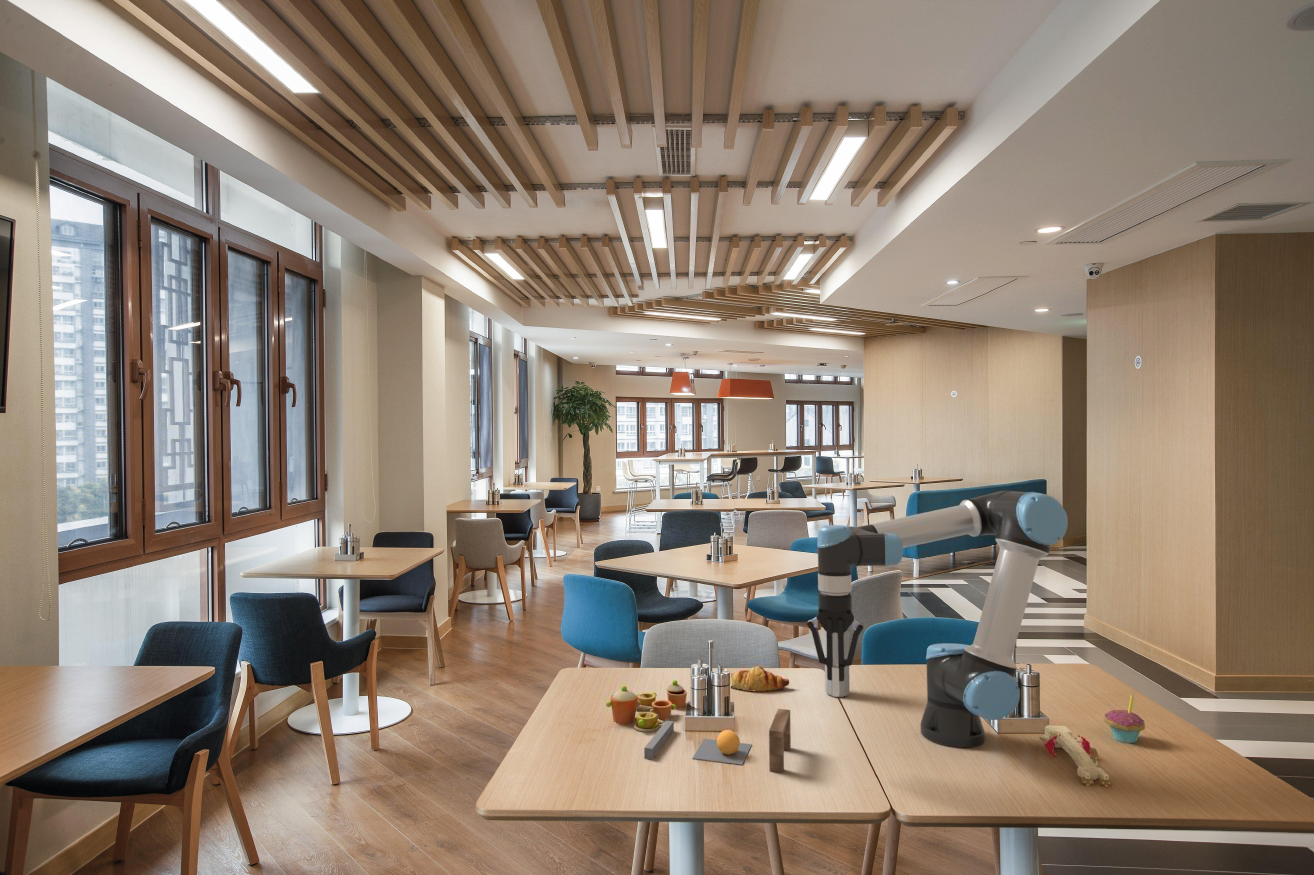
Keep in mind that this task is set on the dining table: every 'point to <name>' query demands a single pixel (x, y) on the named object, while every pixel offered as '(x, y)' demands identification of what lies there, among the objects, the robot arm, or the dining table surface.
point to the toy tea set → (646, 707)
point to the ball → (728, 742)
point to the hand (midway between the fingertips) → (836, 694)
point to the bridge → (779, 740)
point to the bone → (1076, 753)
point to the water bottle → (843, 684)
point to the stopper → (658, 740)
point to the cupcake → (1125, 724)
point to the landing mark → (712, 753)
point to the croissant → (757, 680)
